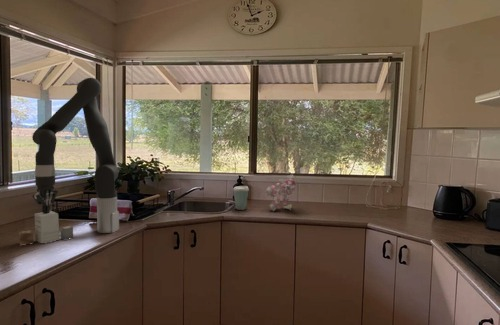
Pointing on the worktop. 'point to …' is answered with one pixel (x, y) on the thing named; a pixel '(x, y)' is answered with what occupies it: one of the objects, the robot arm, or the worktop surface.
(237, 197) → the disposable coffee cup
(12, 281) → the worktop surface
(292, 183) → the flower
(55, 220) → the supplement box
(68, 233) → the slate marked cylinder
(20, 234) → the walnut marked block
